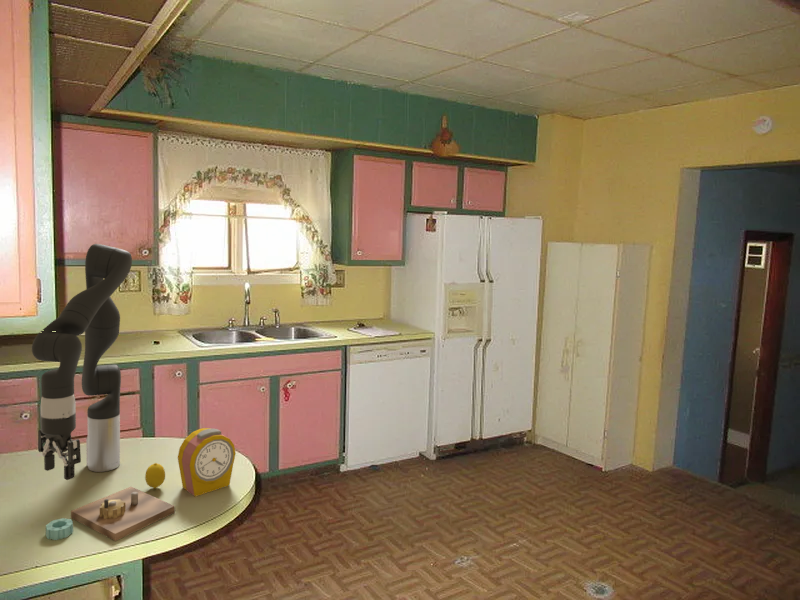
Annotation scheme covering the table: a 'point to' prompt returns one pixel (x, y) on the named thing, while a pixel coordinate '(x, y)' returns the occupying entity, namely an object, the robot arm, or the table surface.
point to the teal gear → (59, 529)
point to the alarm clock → (206, 461)
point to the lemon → (155, 475)
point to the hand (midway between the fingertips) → (59, 474)
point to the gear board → (122, 513)
